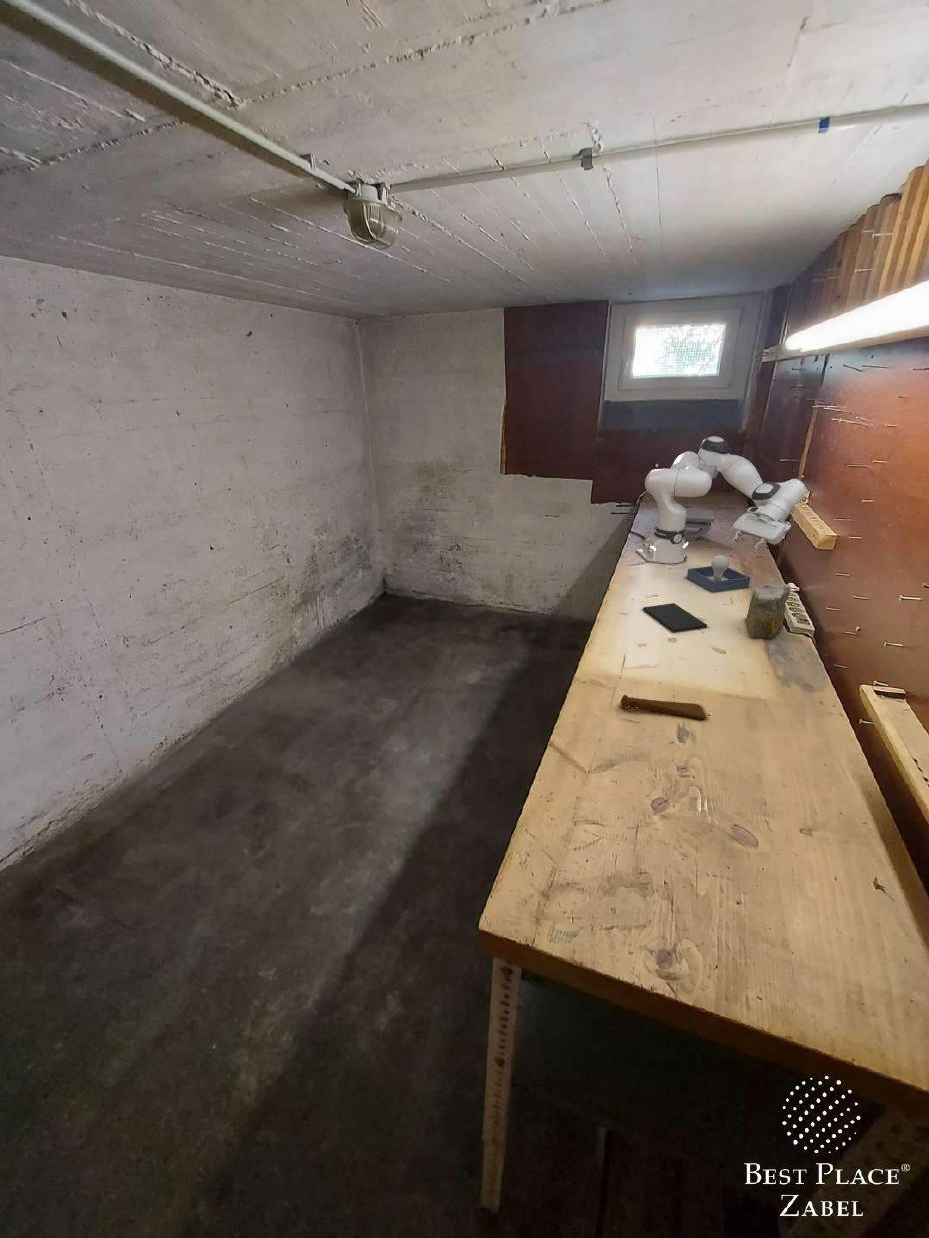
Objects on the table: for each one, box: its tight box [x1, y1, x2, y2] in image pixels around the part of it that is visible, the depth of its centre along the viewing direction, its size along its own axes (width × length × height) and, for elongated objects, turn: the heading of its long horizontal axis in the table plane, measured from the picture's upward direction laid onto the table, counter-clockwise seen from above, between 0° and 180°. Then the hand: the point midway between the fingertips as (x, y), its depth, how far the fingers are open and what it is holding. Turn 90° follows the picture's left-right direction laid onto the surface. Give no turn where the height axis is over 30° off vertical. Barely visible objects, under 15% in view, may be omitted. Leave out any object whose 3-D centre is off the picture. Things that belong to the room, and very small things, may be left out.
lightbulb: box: [711, 555, 730, 582], centre depth 187 cm, size 6×6×11 cm
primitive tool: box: [620, 694, 706, 720], centre depth 117 cm, size 19×6×4 cm, turn 82°
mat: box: [642, 602, 708, 633], centre depth 163 cm, size 18×12×1 cm, turn 12°
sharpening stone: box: [684, 513, 716, 541], centre depth 242 cm, size 25×8×11 cm, turn 62°
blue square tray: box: [686, 565, 751, 593], centre depth 188 cm, size 16×16×4 cm
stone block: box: [746, 583, 791, 639], centre depth 150 cm, size 10×15×15 cm
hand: (743, 545), depth 185 cm, fingers open, 8 cm apart
